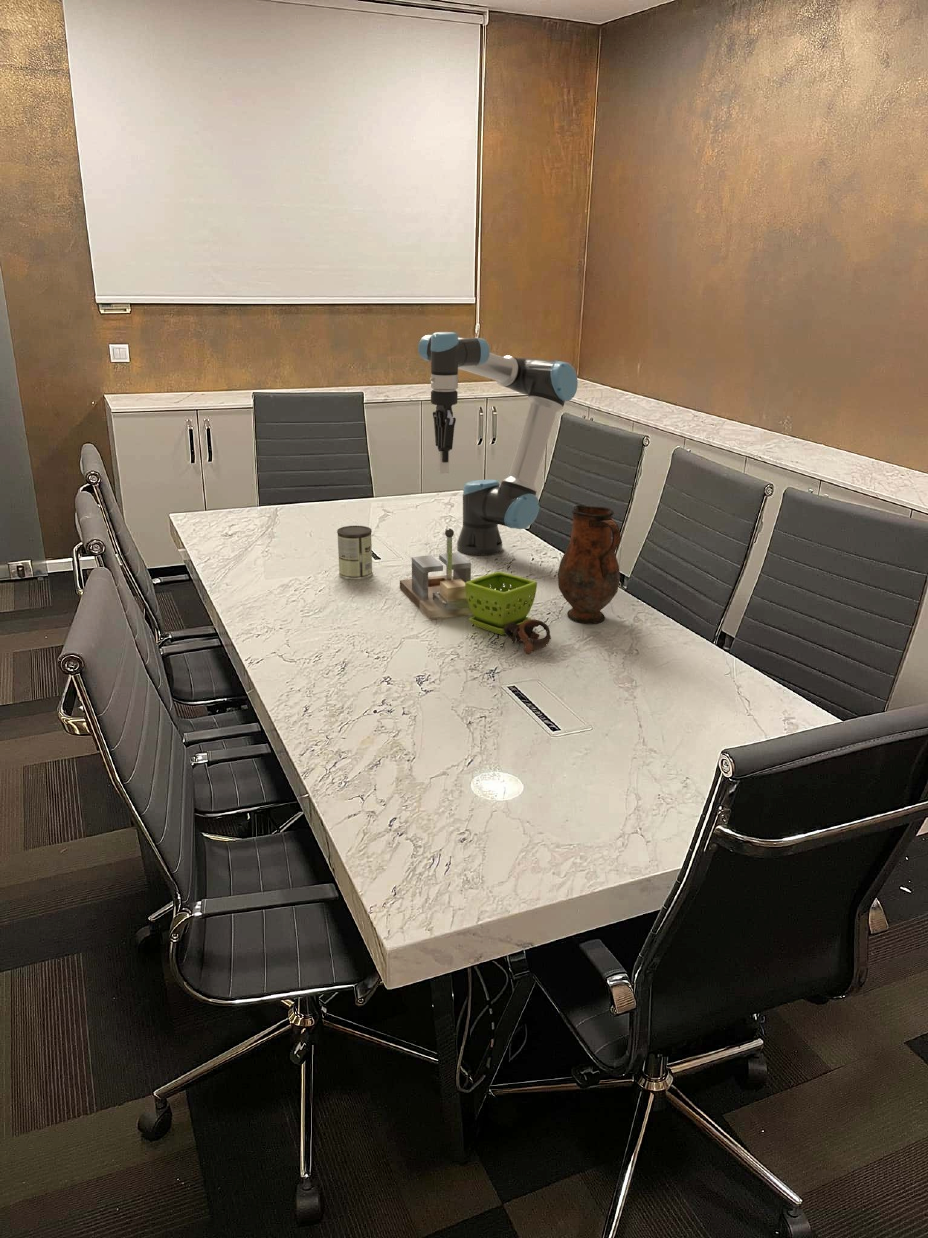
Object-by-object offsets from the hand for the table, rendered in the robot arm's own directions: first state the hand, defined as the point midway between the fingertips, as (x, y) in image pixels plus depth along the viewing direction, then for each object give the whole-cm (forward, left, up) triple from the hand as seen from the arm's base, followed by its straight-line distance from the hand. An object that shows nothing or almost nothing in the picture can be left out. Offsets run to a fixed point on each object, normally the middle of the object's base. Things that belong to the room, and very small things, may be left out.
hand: (443, 472), depth 269 cm
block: (+7, +29, -30) cm, 42 cm away
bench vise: (+7, +18, -32) cm, 38 cm away
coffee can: (+24, -12, -33) cm, 42 cm away
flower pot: (-1, +42, -33) cm, 53 cm away
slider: (+7, +28, -30) cm, 41 cm away
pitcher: (-26, +45, -33) cm, 61 cm away
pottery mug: (-2, +57, -33) cm, 65 cm away
